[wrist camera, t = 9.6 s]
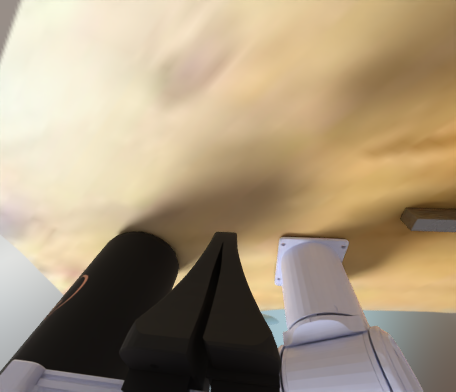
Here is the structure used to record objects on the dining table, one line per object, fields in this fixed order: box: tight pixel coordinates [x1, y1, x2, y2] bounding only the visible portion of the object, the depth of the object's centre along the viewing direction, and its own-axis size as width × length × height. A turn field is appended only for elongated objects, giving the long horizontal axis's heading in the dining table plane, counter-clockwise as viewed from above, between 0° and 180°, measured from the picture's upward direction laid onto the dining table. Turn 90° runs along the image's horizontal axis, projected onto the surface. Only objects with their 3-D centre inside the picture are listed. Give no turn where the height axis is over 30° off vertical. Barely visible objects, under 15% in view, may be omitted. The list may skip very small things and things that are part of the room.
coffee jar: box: [0, 232, 179, 380], centre depth 22 cm, size 11×11×18 cm
